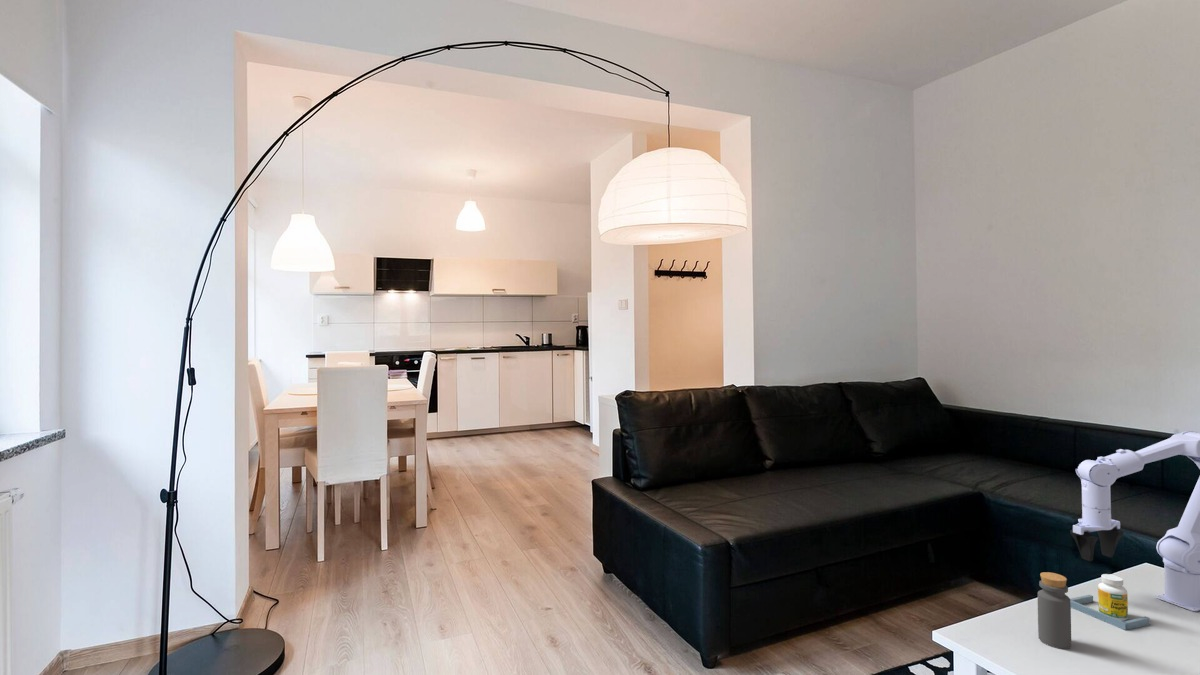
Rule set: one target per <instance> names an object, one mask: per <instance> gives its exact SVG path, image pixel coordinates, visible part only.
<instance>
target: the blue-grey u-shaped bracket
mask: <svg viewBox="0 0 1200 675" xmlns="http://www.w3.org/2000/svg"><path fill="white" fill-rule="evenodd" d="M1093 602H1094V595H1092V594H1087V595H1081V596H1076V597H1072V598H1070V603H1071V609H1074V610H1076V611H1079V612H1081V613H1084V614H1086V615H1088V616H1091V617H1094V618H1095V619H1098V620H1099V621H1103V622H1104V623H1107V624H1110V625H1112V626H1114V627H1116V628H1118V629H1121V630H1124V631H1128V630H1131V629H1136V628H1141V627H1144V626H1149V625H1150V622H1151V620H1150V617H1148V616H1143V617H1142V616H1141V617H1138V618H1134V619H1133V618H1132V619H1129V620H1128V619H1127V620H1125V621H1121V620H1118V619H1116V618H1113V617H1111V616H1109V615H1106V614H1104V613H1101V612H1099V610H1096V609H1094V608H1091V607H1089V606H1086V605H1084V604H1089V603H1093Z"/></svg>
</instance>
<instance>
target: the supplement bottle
mask: <svg viewBox="0 0 1200 675" xmlns="http://www.w3.org/2000/svg"><path fill="white" fill-rule="evenodd" d="M1100 577H1101V582H1100V583H1098V585H1097V589H1098V590H1097V591H1098V592H1097V594H1098V611H1099V612H1101V613H1104V614H1106V615H1109V616H1111V617H1113V618H1116V619H1118V620H1121V621H1123V622H1124V621H1128V619H1129V612H1128V611H1129V609H1128V608H1129V607H1128V606H1129V603H1128V601H1129V600H1128V590H1127V588H1126V587H1124V578H1122V577H1120V576H1117V575H1114V574H1109V573H1103V574H1101V576H1100Z"/></svg>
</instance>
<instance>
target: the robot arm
mask: <svg viewBox="0 0 1200 675" xmlns="http://www.w3.org/2000/svg"><path fill="white" fill-rule="evenodd" d="M1178 455H1179V456H1180V455H1181V456H1186V457H1187V458H1188V459H1190V460H1191V461H1193V462H1194V464H1196V466H1197V467H1198V469H1199V470H1200V432H1197V431H1193V430H1186V431H1181V433H1175V434H1172V435H1171V437H1169V438H1167V439H1164V440H1161V441H1159V442H1156V443H1153V444H1151V445H1149V446H1146V447H1144V448H1141V449H1138V450H1136V451H1133V450H1130V449H1122V448H1119V449H1116V450H1115V453H1111V454H1109V455H1106V456H1097V459H1096V460H1093V459H1092V460H1091V459H1085V460H1083V461H1082V462H1080V463H1079V464H1078V466H1077V468H1075V473H1076V475H1077V476H1078V478H1079V479H1080V482H1081V483H1080V484H1081V510H1082V511H1081V512H1082V513H1081V518H1078V519H1077V521H1078V523H1076V524H1073V525H1072V529H1071V530H1069V531H1070V536H1071V537H1072V538H1073V539H1074V541H1075V543H1076V546H1077V548H1078V551H1079V554H1080V557H1081V559H1082V560H1085V561H1088V562H1093V560H1094V552H1095V547H1096V544H1097V541H1098V540H1099V543H1100V544H1099V545H1100V551H1101V555H1102V556H1105V557H1108V558H1110V559H1111V558H1113V557H1114V555H1115V551H1116V549H1117V546H1118V543H1119V542H1120V540H1121V539H1122V538H1123V536H1124V534H1125V533H1124V531H1123V530H1120V529H1121V521H1120V520H1116V519H1114V518H1113V519H1112V505H1111V504H1112V502H1111V501H1112V500H1111V486H1112V485H1113V484H1114V483H1115V482H1116V480H1117V479H1119V478H1121V477H1125V476H1128V475H1131V474H1134V473H1137V472H1138V473H1139V472H1140V471H1143V469H1144V466H1145V465H1146V464H1149V463H1152V462H1157V461H1161V460H1164V459H1168V458H1171V457H1174V456H1178ZM1196 481H1197V482H1196V484H1195V486H1194V489H1193V491H1192V493H1191V495H1190V497H1189V500H1188V502H1187V504H1186V507H1185V509H1184V511H1183V514H1182V516H1181V518H1180V521H1179V523H1178V525H1177V526H1176V527H1174V528H1170V529H1168V530H1166V533H1165V535H1164V536H1162V538H1160V539H1159V540H1158V541H1157V543H1156V551H1157V554H1159V556H1160V557H1161V558H1162V562H1163V564H1164V565H1163V566H1164V568H1163V569H1164V572H1163V574H1164V594H1163V593H1162V594H1157V595H1156V596H1155V598H1156V599H1159V600H1162V601H1164V602H1165V603H1166V602H1167V603H1170V604H1172V605H1176V606H1178V607H1180V608H1183V609H1186V610H1189V611H1191V612H1198V611H1200V475H1199V477H1198V479H1197V480H1196ZM1094 532H1096V533H1097V535H1098V537H1097V536H1096V535H1095V536H1094V535H1092V534H1091V533H1094Z"/></svg>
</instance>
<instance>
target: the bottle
mask: <svg viewBox="0 0 1200 675" xmlns="http://www.w3.org/2000/svg"><path fill="white" fill-rule="evenodd" d="M1039 575H1040V579H1041V580H1039V582H1038V583H1039V584H1038V586H1039V587H1040V588H1041V589H1040V590H1038V591H1037V628H1038V630H1037V633H1038V639H1040V640H1041V641H1042V642H1041V641H1040V640H1039V641H1040V642H1041V643H1043V642H1044V643H1043V644H1045V643H1046V644H1045V645H1047V644H1048V645H1047V646H1049V645H1050V646H1049V647H1052V646H1054V647H1053V648H1055V647H1057V648H1056V649H1064V650H1067V649H1071V647H1072V610H1071V609H1072V607H1071V603H1070V599H1071V598H1070V596H1068V595H1067V594H1066V593H1068V592H1069V587H1068V585H1067V581H1068V579H1067V577H1066V576H1064V575H1062V574H1059V573H1055V572H1049V571H1047V572H1046V571H1045V572H1040V574H1039Z"/></svg>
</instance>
